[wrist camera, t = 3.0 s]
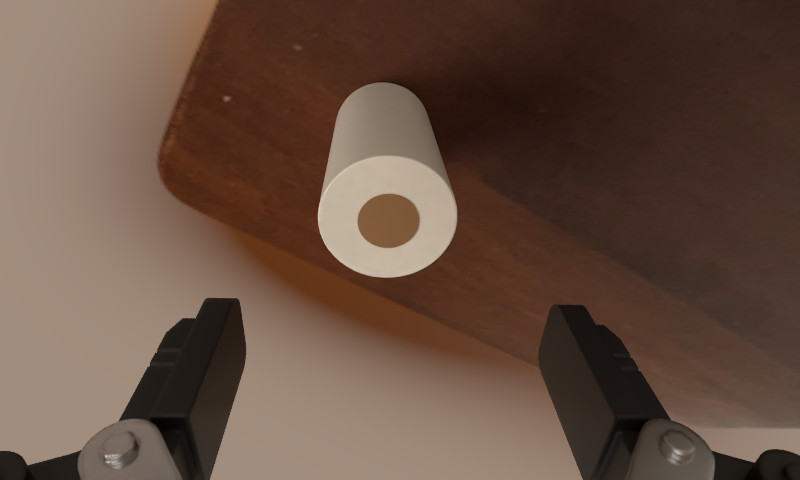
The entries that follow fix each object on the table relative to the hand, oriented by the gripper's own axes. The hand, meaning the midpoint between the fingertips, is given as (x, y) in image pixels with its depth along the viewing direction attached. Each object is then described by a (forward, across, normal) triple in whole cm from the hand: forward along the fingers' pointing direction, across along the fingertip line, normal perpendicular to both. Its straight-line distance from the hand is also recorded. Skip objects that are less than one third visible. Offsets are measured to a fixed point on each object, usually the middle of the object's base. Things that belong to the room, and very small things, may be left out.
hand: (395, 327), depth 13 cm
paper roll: (+16, 0, 0) cm, 16 cm away
